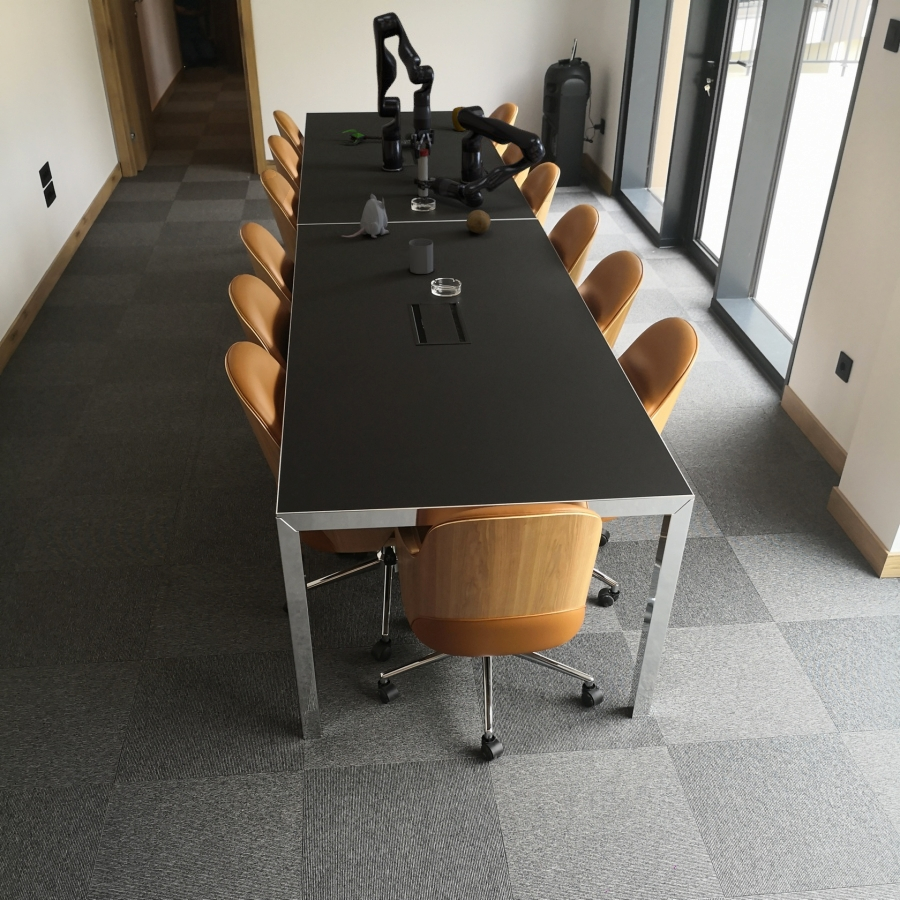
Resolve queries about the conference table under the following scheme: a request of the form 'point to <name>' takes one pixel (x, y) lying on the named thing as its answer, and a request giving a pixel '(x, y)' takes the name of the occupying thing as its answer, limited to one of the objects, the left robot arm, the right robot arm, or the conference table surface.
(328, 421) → the conference table surface
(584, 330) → the conference table surface
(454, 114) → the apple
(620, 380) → the conference table surface
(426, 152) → the lid
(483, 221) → the potato
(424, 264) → the cup
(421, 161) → the white tall cylinder
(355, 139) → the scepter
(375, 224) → the toy
